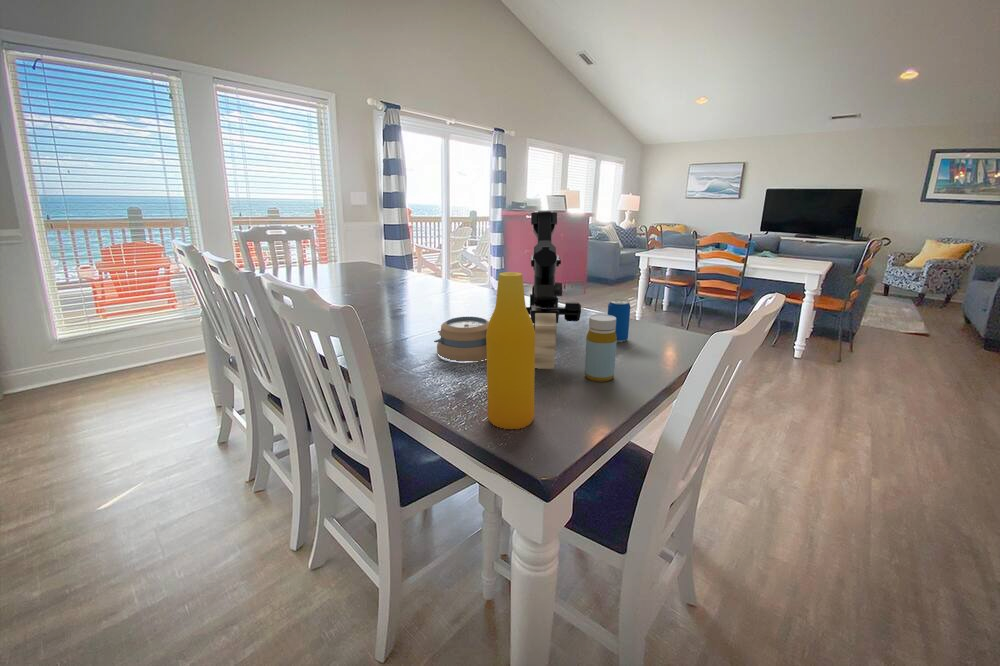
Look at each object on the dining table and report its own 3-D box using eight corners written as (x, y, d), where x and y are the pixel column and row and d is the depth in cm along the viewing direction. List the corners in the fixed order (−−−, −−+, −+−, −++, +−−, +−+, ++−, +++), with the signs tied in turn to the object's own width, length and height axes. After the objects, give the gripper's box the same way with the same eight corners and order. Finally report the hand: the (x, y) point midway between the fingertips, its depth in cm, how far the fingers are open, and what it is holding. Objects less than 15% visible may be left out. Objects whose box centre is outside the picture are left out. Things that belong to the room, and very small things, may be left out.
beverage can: (625, 336, 139) (628, 299, 135) (629, 343, 132) (632, 304, 129) (604, 336, 139) (607, 298, 136) (607, 342, 133) (609, 303, 130)
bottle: (615, 373, 110) (619, 314, 106) (612, 384, 104) (616, 322, 100) (586, 370, 112) (589, 312, 108) (582, 380, 106) (585, 320, 102)
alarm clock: (438, 314, 131) (516, 313, 132) (440, 344, 134) (516, 342, 134) (431, 331, 115) (520, 329, 115) (433, 364, 118) (520, 363, 118)
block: (534, 355, 118) (535, 312, 109) (553, 355, 117) (555, 312, 109) (534, 368, 114) (535, 325, 105) (554, 369, 113) (556, 326, 105)
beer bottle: (479, 425, 86) (475, 276, 77) (499, 405, 94) (497, 268, 85) (524, 435, 82) (525, 279, 74) (540, 413, 90) (543, 271, 82)
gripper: (509, 271, 115) (506, 323, 108) (582, 271, 114) (584, 324, 106) (510, 295, 125) (508, 344, 118) (578, 295, 124) (580, 345, 116)
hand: (544, 339), depth 114 cm, fingers closed
